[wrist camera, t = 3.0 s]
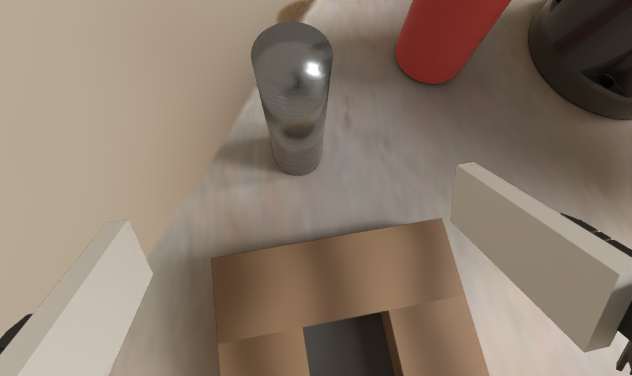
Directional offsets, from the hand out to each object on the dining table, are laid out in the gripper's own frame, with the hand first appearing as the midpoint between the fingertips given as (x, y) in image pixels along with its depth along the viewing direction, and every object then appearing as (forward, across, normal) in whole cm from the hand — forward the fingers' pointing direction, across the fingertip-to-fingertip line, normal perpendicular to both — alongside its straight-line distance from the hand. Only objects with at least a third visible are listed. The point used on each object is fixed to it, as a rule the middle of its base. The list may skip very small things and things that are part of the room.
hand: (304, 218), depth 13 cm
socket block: (+3, +2, -14) cm, 14 cm away
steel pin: (+14, +1, -3) cm, 15 cm away
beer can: (+20, +15, +3) cm, 25 cm away
